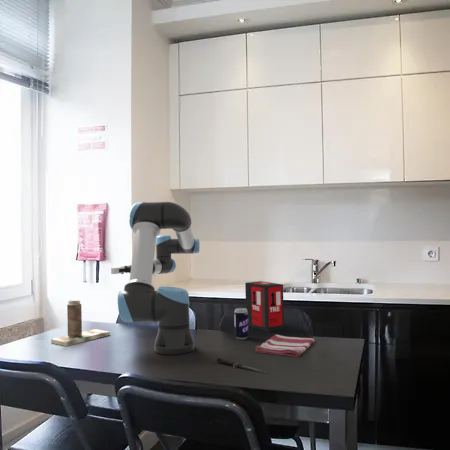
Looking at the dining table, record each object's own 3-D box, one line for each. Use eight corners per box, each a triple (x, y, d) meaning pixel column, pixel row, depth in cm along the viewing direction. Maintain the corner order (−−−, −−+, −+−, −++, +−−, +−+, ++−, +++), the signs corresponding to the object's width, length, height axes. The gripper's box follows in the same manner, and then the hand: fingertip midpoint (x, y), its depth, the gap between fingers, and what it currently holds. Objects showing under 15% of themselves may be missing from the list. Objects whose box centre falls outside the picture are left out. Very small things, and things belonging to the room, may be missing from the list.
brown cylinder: (76, 334, 194) (75, 299, 194) (86, 336, 190) (86, 300, 190) (66, 336, 190) (66, 300, 190) (77, 338, 186) (76, 302, 186)
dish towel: (254, 353, 167) (253, 346, 167) (275, 339, 188) (275, 332, 188) (299, 358, 160) (298, 350, 160) (315, 342, 181) (315, 336, 181)
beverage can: (238, 340, 185) (238, 310, 185) (232, 337, 190) (231, 308, 190) (251, 338, 188) (250, 309, 188) (244, 335, 193) (243, 307, 193)
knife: (285, 372, 142) (276, 375, 138) (285, 378, 142) (276, 381, 138) (223, 356, 157) (214, 358, 153) (223, 361, 157) (213, 363, 153)
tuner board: (95, 332, 205) (95, 328, 205) (110, 335, 199) (110, 331, 199) (51, 342, 187) (51, 338, 187) (65, 346, 181) (65, 341, 181)
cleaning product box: (283, 329, 204) (283, 284, 205) (268, 332, 200) (267, 286, 200) (261, 323, 218) (260, 281, 218) (246, 325, 213) (245, 282, 214)
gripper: (159, 275, 222) (121, 279, 203) (141, 274, 230) (103, 278, 211) (159, 260, 222) (121, 262, 203) (140, 259, 230) (102, 262, 211)
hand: (112, 271), depth 207 cm, fingers closed
